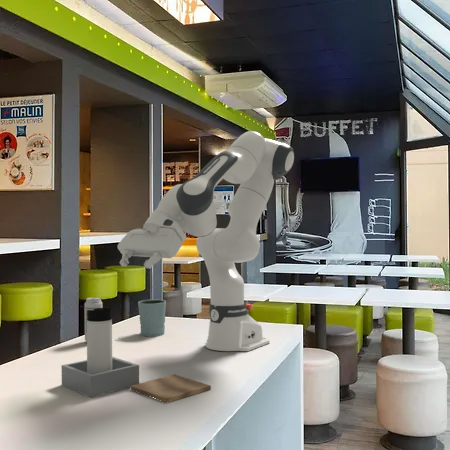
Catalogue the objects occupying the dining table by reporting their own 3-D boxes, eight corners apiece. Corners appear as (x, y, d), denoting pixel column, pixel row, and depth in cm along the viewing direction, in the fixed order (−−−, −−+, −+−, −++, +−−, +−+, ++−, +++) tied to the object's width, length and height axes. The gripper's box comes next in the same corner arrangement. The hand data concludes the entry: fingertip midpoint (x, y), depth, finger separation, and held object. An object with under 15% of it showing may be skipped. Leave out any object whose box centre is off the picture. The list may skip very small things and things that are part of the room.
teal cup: (171, 333, 204) (171, 300, 204) (154, 338, 195) (153, 304, 195) (150, 330, 209) (150, 298, 209) (132, 334, 201) (132, 302, 200)
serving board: (174, 378, 146) (174, 374, 146) (210, 389, 136) (210, 385, 136) (130, 389, 136) (130, 385, 136) (166, 403, 126) (166, 398, 126)
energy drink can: (105, 340, 192) (104, 297, 192) (99, 344, 186) (99, 299, 186) (88, 339, 193) (88, 297, 193) (82, 343, 187) (81, 299, 187)
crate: (108, 373, 151) (108, 355, 150) (139, 384, 141) (139, 365, 141) (61, 384, 141) (61, 365, 141) (90, 397, 131) (90, 376, 131)
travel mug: (101, 390, 136) (100, 309, 136) (82, 385, 140) (81, 307, 139) (118, 383, 142) (118, 305, 141) (99, 379, 145) (99, 303, 145)
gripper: (128, 221, 162) (102, 256, 154) (180, 221, 149) (155, 260, 142) (139, 235, 165) (114, 271, 158) (191, 237, 153) (167, 276, 146)
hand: (134, 266), depth 150 cm, fingers open, 8 cm apart
